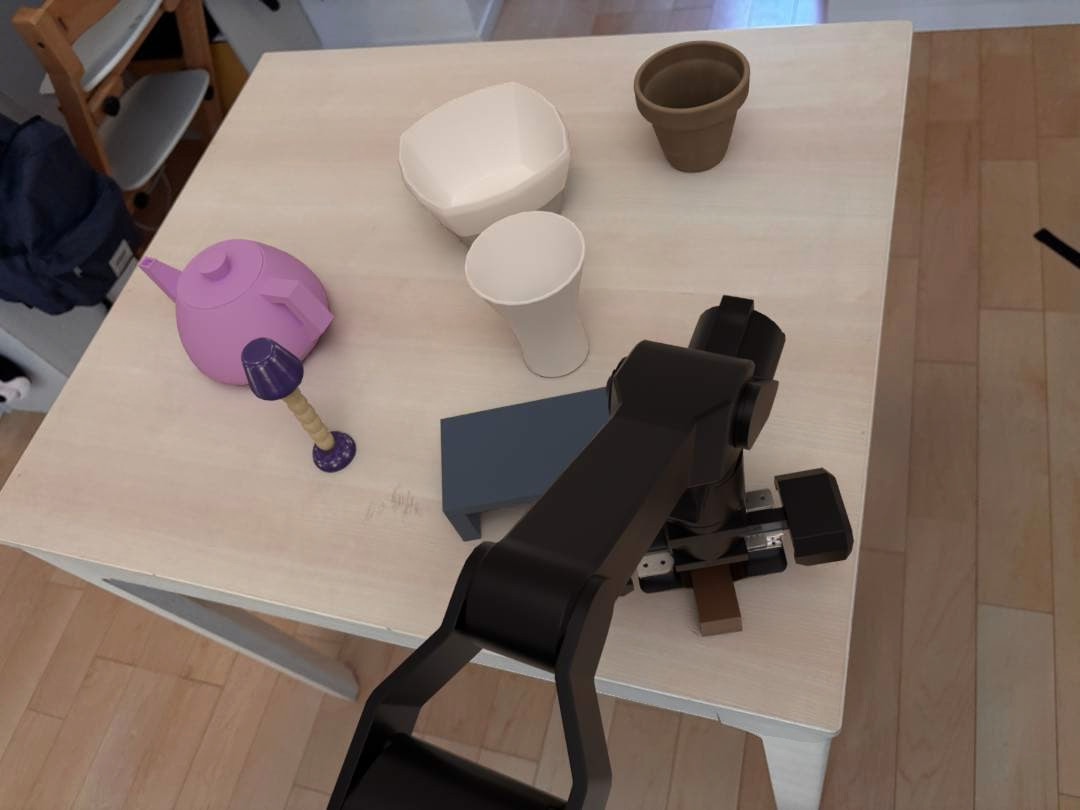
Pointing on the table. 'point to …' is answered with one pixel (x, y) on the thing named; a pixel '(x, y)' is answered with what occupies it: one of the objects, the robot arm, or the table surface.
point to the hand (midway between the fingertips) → (711, 579)
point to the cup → (534, 286)
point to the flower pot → (693, 100)
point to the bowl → (487, 158)
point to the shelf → (512, 453)
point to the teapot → (241, 304)
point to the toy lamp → (294, 399)
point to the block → (716, 600)
